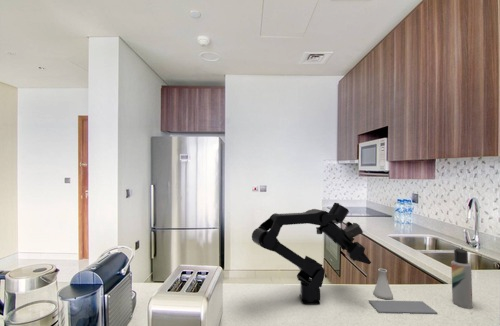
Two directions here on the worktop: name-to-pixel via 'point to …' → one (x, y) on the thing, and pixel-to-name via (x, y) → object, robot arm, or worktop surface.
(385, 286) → the flask
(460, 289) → the lotion bottle
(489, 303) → the worktop surface
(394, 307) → the charcoal mat
